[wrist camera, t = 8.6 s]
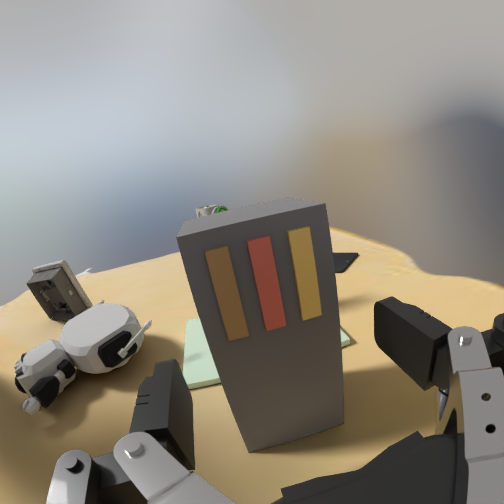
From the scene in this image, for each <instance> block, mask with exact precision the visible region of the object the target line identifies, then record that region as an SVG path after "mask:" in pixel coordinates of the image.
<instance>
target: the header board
mask: <svg viewBox="0 0 504 504" xmlns="http://www.w3.org/2000/svg"><path fill="white" fill-rule="evenodd" d="M340 331H341V347H344V346H346V345H349V344H350V338H349V337H348V336H347V335H346V334H345V333H344V332H343V331H342V330H341V329H340ZM183 376H184V379H185V381H186V383H187V385H188V388H189V389H193V388H198V387H203V386H208V385H213V384H217V383H221V380H220V378H219V375H218V372H217V369H216V366H215V364H214V361H213V358H212V355H211V352H210V349H209V346H208V343H207V340H206V337H205V334H204V331H203V328H202V324H201V321H200V318H196V319H192V320H188V321H187V323H186V335H185V348H184V363H183Z"/></svg>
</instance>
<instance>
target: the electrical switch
mask: <svg viewBox="0 0 504 504" xmlns="http://www.w3.org/2000/svg"><path fill="white" fill-rule="evenodd" d="M32 271H33V274H34V275H33V276H32V278H31V279H30V280H29V281H28V282H27V285H28V287H29V289H30V290H31V292H32V293H33V295H34V296H35V298H36V299H37V301H38V302H39V304H40V305H41V307H42V308H43V310H44V311H45V312H46V314H47V315H48V317H49V318H50V319H51V318H52V319H51V320H54V319H72V318H74V317H76V316H77V315H79V314H81V313H82V312H84V311H86V310H87V309H89V308H91V307H92V303H91V301H90V300H89V298H88V297H87V295H86V294H85V292H84V290H83V289H82V287H81V285H80V284H79V282H78V281H77V279H76V277H75V275H74V274H73V272H72V270H71V269H70V267H69V265H68V263H67V262H66V261H64V260H62V261H57V262H53V263H49V264H45V265H41V266H37V267H35V268H34V269H33V270H32ZM40 292H41V293H40ZM67 312H68V314H67ZM71 312H72V313H71ZM70 313H71V314H70Z"/></svg>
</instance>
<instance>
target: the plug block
mask: <svg viewBox="0 0 504 504" xmlns="http://www.w3.org/2000/svg"><path fill="white" fill-rule="evenodd" d="M177 241H178V245H179V249H180V253H181V256H182V260H183V264H184V267H185V271H186V274H187V278H188V281H189V285H190V288H191V292H192V295H193V299H194V302H195V305H196V308H197V312H198V315H199V318H200V321H201V324H202V328H203V331H204V334H205V337H206V340H207V343H208V346H209V349H210V352H211V355H212V358H213V361H214V364H215V366H216V369H217V372H218V375H219V378H220V380H221V383H222V386H223V389H224V391H225V394H226V397H227V399H228V402H229V405H230V407H231V410H232V413H233V415H234V418H235V420H236V423H237V425H238V428H239V430H240V433H241V435H242V438H243V440H244V442H245V445H246V447H247V450H248V452H253V451H257V450H261V449H265V448H269V447H273V446H277V445H280V444H284V443H287V442H291V441H294V440H297V439H300V438H303V437H307V436H310V435H312V434H315V433H318V432H321V431H324V430H327V429H329V428H332V427H335V426H337V425H340V424H342V423H344V396H343V366H342V347H341V331H340V318H339V307H338V296H337V286H336V277H335V268H334V260H333V252H332V244H331V237H330V230H329V223H328V218H327V210H326V204H325V203H321V202H314V201H307V200H301V199H294V198H283V199H278V200H273V201H268V202H264V203H259V204H254V205H250V206H246V207H241V208H237V209H232V210H228V211H223V212H219V213H215V214H211V215H207V216H202V217H198V218H195V219H190V220H186V221H185V222H184V224H183V226H182V228H181V230H180V231H179V233H178V236H177Z"/></svg>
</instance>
